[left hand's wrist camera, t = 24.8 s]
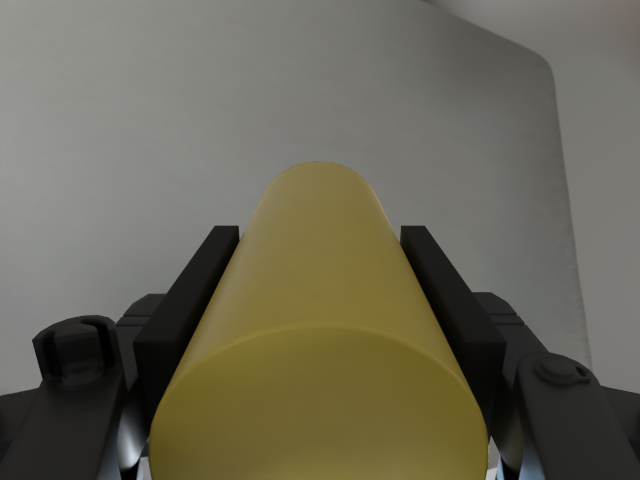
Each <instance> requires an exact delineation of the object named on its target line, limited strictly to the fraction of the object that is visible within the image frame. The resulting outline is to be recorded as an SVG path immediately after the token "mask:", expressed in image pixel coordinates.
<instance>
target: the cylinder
mask: <svg viewBox="0 0 640 480" xmlns="http://www.w3.org/2000/svg"><path fill="white" fill-rule="evenodd" d="M148 462H149V468H150V474H151V479H152V480H485V479H486V473H487V468H488V462H489V441H488V435H487V428H486V425H485V422H484V419H483V416H482V413H481V410H480V408H479V406H478V404H477V402H476V399H475V397H474V395H473V393H472V391H471V389H470V387H469V385H468V383H467V381H466V379H465V377H464V375H463V373H462V371H461V369H460V367H459V365H458V362H457V360H456V358H455V356H454V354H453V352H452V350H451V348H450V346H449V344H448V342H447V340H446V338H445V336H444V334H443V332H442V330H441V327H440V325H439V323H438V321H437V319H436V317H435V315H434V313H433V311H432V309H431V307H430V305H429V303H428V301H427V299H426V297H425V295H424V293H423V290H422V288H421V286H420V284H419V282H418V280H417V278H416V276H415V274H414V272H413V270H412V268H411V266H410V264H409V262H408V260H407V258H406V256H405V253H404V251H403V249H402V247H401V245H400V243H399V241H398V239H397V237H396V235H395V233H394V231H393V229H392V227H391V225H390V223H389V221H388V219H387V216H386V214H385V212H384V210H383V208H382V206H381V204H380V202H379V200H378V198H377V196H376V194H375V192H374V190H373V189H372V188H371V186H370V185H369V184H368V183H367V181H366V180H365V179H364V178H363V177H361V176H360V175H359V174H358V173H356V172H355V171H353V170H351V169H350V168H348V167H345V166H343V165H340V164H337V163H333V162H326V161H312V162H305V163H302V164H298V165H296V166H293V167H291V168H289V169H287V170H285V171H284V172H282V173H281V174H279V175H278V176H277V177H276V178H275V179H274V180H273V181H272V182H271V183H270V184H269V185H268V187H267V188H266V189H265V191H264V193H263V195H262V197H261V199H260V201H259V203H258V205H257V207H256V209H255V211H254V213H253V215H252V217H251V219H250V221H249V223H248V225H247V227H246V229H245V231H244V233H243V235H242V237H241V239H240V241H239V243H238V245H237V247H236V249H235V251H234V253H233V255H232V257H231V259H230V261H229V263H228V266H227V268H226V270H225V272H224V274H223V276H222V278H221V280H220V282H219V284H218V286H217V288H216V290H215V292H214V294H213V296H212V298H211V300H210V302H209V304H208V306H207V308H206V310H205V312H204V314H203V316H202V318H201V320H200V322H199V324H198V326H197V328H196V330H195V332H194V334H193V337H192V339H191V341H190V343H189V345H188V347H187V349H186V351H185V353H184V355H183V357H182V359H181V361H180V363H179V365H178V367H177V369H176V371H175V373H174V375H173V377H172V379H171V381H170V383H169V385H168V387H167V389H166V391H165V393H164V395H163V397H162V399H161V401H160V403H159V405H158V408H157V410H156V413H155V416H154V419H153V421H152V424H151V429H150V435H149V440H148Z"/></svg>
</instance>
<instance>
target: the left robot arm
mask: <svg viewBox="0 0 640 480" xmlns="http://www.w3.org/2000/svg"><path fill="white" fill-rule="evenodd" d="M239 241H240V240H239V226H214V228H213V229H212V231H211V232H210V233H209V235H208V236H207V238H206V239H205V241H204V242H203V243H202V245H201V246H200V248H199V249H198V250H197V252H196V253H195V255H194V256H193V257H192V259H191V260H190V262H189V263H188V264H187V266H186V267H185V269H184V270H183V271H182V273H181V274H180V276H179V277H178V279H177V280H176V281H175V283H174V284H173V286H172V287H171V288H170V290H169V291H168V293H167V294H148V295H146V296H144V297H143V298H141V299H139V300H138V301H136V302H134V303H133V304H132V305H131V306H130V307H129V309H128V310H127V311H126V312H125V313H124V315H123V317H121V318H120V320H119V321H118V322H117V323H116V324H115V322H114V321H113V320H111V319H110V318H109V317H104V316H99V315H89V316H79V317H74V318H70V319H66V320H63V321H61V322H58V323H55V324H53V325H51V326H49V327H47V328H46V329H44V330H42V331H41V332H39V333H38V334H37V335H36V336H35V337H34V338H33V340H32V342H33V346H34V349H35V353H36V357H37V360H38V364H39V368H40V371H41V375H42V379H43V380H42V382H41V384H40V386H39V388H36V389H32V390H27V391H22V392H17V393H12V394H7V395H2V396H0V480H152V479H151V474H150V468H149V462H148V440H149V435H150V429H151V424H152V421H153V419H154V416H155V413H156V410H157V408H158V405H159V403H160V401H161V399H162V397H163V395H164V393H165V391H166V389H167V387H168V385H169V383H170V381H171V379H172V377H173V375H174V373H175V371H176V369H177V367H178V365H179V363H180V361H181V359H182V357H183V355H184V353H185V351H186V349H187V347H188V345H189V343H190V341H191V339H192V337H193V334H194V332H195V330H196V328H197V326H198V324H199V322H200V320H201V318H202V316H203V314H204V312H205V310H206V308H207V306H208V304H209V302H210V300H211V298H212V296H213V294H214V292H215V290H216V288H217V286H218V284H219V282H220V280H221V278H222V276H223V274H224V272H225V270H226V268H227V266H228V263H229V261H230V259H231V257H232V255H233V253H234V251H235V249H236V247H237V245H238V243H239ZM400 245H401V247H402V249H403V251H404V253H405V256H406V258H407V260H408V262H409V264H410V266H411V268H412V270H413V272H414V274H415V276H416V278H417V280H418V282H419V284H420V286H421V288H422V290H423V293H424V295H425V297H426V299H427V301H428V303H429V305H430V307H431V309H432V311H433V313H434V315H435V317H436V319H437V321H438V323H439V325H440V327H441V330H442V332H443V334H444V336H445V338H446V340H447V342H448V344H449V346H450V348H451V350H452V352H453V354H454V356H455V358H456V360H457V362H458V365H459V367H460V369H461V371H462V373H463V375H464V377H465V379H466V381H467V383H468V385H469V387H470V389H471V391H472V393H473V395H474V397H475V399H476V402H477V404H478V406H479V408H480V410H481V413H482V416H483V419H484V422H485V425H486V428H487V435H488V441H489V443H490V437H491V436H492V438H493V440H494V442H495V444H496V446H497V448H498V450H499V452H500V457H499V462H498V467H497V473H496V478H495V480H640V394H638V393H633V392H628V391H623V390H618V389H612V388H608V387H604V386H600V384H599V382H598V380H597V378H596V377H595V376H594V375H593V373H592V372H591V371H590V370H589V369H587V368H586V367H585V366H583V365H582V364H580V363H579V362H577V361H575V360H572V359H570V358H568V357H565V356H562V355H558V354H554V353H550V352H549V351H548V350H547V349H546V348H545V347H544V346H543V344H542V343H541V342H540V341H539V340H538V338H537V337H536V336H535V335H534V334H533V332H532V331H531V330H530V329H529V328H528V326H527V325H525V324H524V322H523V320H522V319H521V318H520V317H519V316H517V313H516V312H515V311H514V310H513V308H512V307H511V306H510V305H509V304H508V303H507V302H506V301H505V300H503V299H501V298H500V297H498V296H496V295H495V294H493V293H491V292H471V290H470V289H469V287H468V286H467V285H466V283H465V282H464V280H463V279H462V278H461V276H460V275H459V273H458V272H457V271H456V269H455V268H454V266H453V265H452V264H451V262H450V261H449V259H448V258H447V257H446V255H445V254H444V252H443V251H442V249H441V248H440V247H439V245H438V244H437V242H436V241H435V240H434V238H433V237H432V235H431V234H430V233H429V231H428V230H427V228H426V227H425V226H401V235H400ZM115 325H116V326H115Z"/></svg>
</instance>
